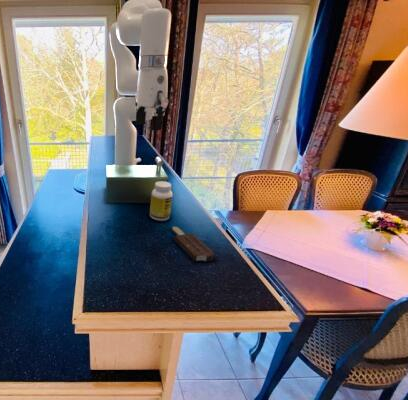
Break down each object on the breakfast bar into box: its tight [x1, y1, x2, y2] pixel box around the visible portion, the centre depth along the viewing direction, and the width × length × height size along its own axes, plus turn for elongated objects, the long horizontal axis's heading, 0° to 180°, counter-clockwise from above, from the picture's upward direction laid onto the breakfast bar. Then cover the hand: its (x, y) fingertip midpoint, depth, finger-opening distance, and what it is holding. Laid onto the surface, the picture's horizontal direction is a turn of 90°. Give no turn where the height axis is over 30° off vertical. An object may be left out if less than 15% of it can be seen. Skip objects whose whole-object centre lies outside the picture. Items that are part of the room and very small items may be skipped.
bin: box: [105, 175, 167, 204], centre depth 95 cm, size 20×13×9 cm, turn 89°
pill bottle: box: [149, 181, 174, 222], centre depth 80 cm, size 6×6×11 cm
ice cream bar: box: [171, 226, 215, 263], centre depth 69 cm, size 5×2×15 cm
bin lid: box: [105, 156, 169, 180], centre depth 92 cm, size 20×13×5 cm, turn 89°
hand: (147, 127), depth 80 cm, fingers open, 9 cm apart
